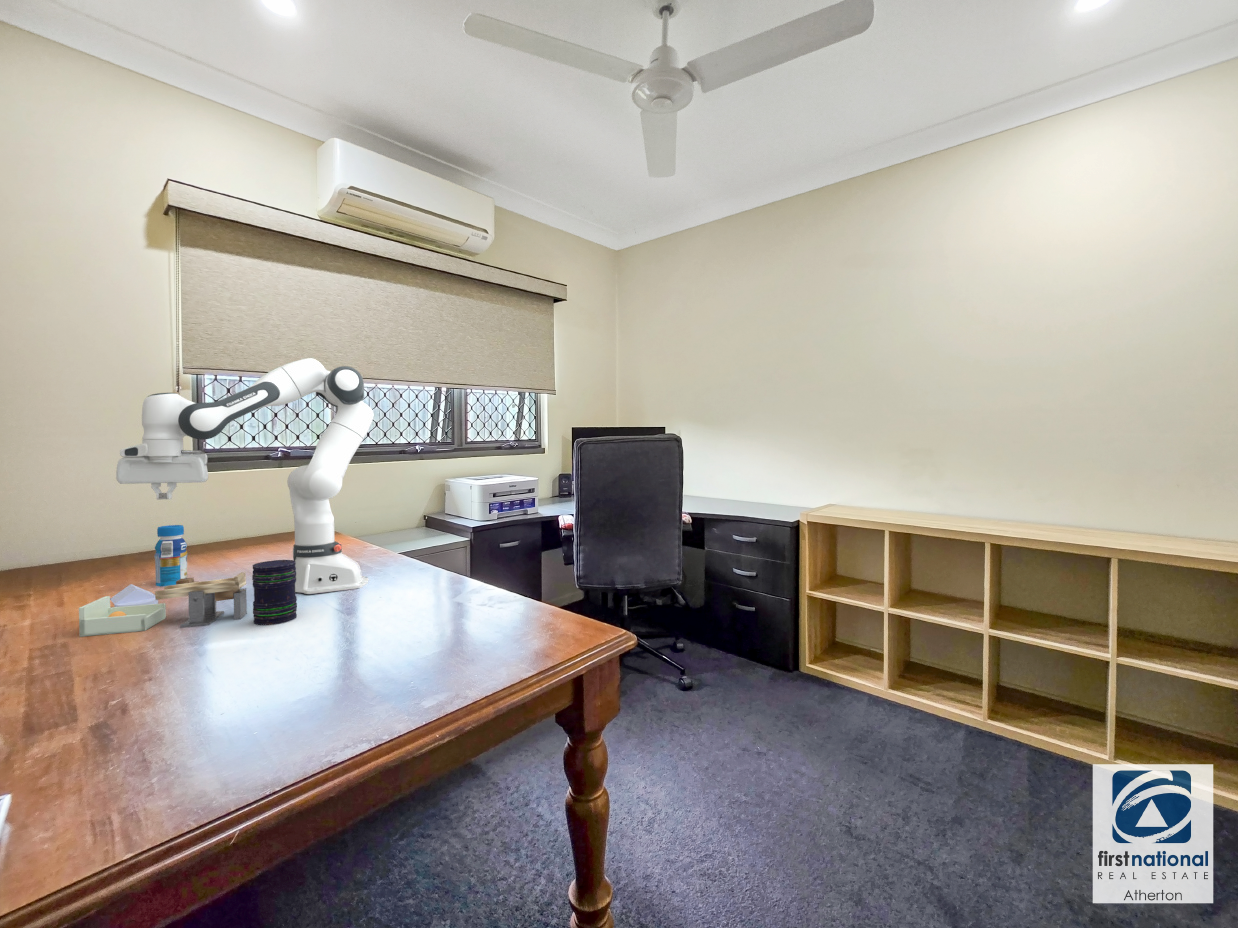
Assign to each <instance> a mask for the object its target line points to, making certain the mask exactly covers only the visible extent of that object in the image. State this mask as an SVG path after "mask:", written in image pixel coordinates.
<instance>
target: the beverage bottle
mask: <svg viewBox="0 0 1238 928" xmlns="http://www.w3.org/2000/svg"><path fill="white" fill-rule="evenodd" d="M184 528H185V527H184V525H183V524H175V525H174V524H172V525H171V524H169V525H162V526H161V525H160V526H158V527H157V528H156V529H157V531H156V532H157V533H156V534H157V537H158V538H159V539H158V540H157V542H156V543H155V545H154V551H155V554H154V555H153V556H154V563H155V567H154V568H155V570H154V571H155V586H156V587H165V586H170V585H176V581H178V580H180V579H185V578H188V550H187V547H188V544H187V542H186V540H185V539H184V538H183V536H184V535H185V533H184V532H185V529H184Z"/></svg>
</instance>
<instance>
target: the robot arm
mask: <svg viewBox="0 0 1238 928" xmlns="http://www.w3.org/2000/svg"><path fill="white" fill-rule="evenodd" d="M313 393H316V394H317V395H318V396H319V397H320V398H322V399H323V400H324V401H325V402H326V403H328V404H329V405H331V406H333V407H336V408H337V412H336V414H335V415H334V417H333V418H332V420H331V422H330V423H329V425H328V426H327V428H326V429H325V431H324V432H323V433H322V435H321V437H320V438H319V440H318V441H317V443H316V448H315V450H314V453H313V456H312V458H311V460H310V461H309V463H308V464H305V465H301V466H298V467H296V468H295V469H294V470H292V471H291V472H290V474H289V475H288V477H287V487H288V490H289V496H290V497H289V498H290V502H291V503H290V504H291V509H292V513H293V520H294V521H293V523H294V544H293V548H292V560H294V561H296V565H295V566H296V583H295V593H300V594H301V593H302V594H305V595H312V594H314V595H315V594H321V593H322V594H323V593H329V592H330V593H331V592H337V591H346V590H355V589H356V590H357V589H360V588H363V586H364V585H365V586H367V585H368V584H369V582H368V581H370V579H369V577H367V576H365V575H364V576H363V575H362V571H361V570H362V569H361V566H360V564H359V563H358V562H357V561H356V560H354V559H352V558H351V557H349V556H347V555H346V554H344V553H342V550H343V548H342V547H343V546H342V545H343V544H342V543H341V542H338V541H336V540H335V517H334V514H333V512H332V508H331V503H330V499H332V498H334V497H336V496H337V495H338V494H339V493H340V492H341V489H342V487H343V480H344V478H345V475H346V472H347V470H348V467H349V465H350V463H351V460H352V458H353V457H354V455H355V454H356V451H357V450H358V448H359V447H360V446H361V444H362V443H363V440H364V439H365V437H366V436H367V434H368V432H369V430H370V428H371V425H372V423H373V419H374V417H375V415H374V411H373V409H372V408H371V407H370V406H369V405H368V404H367V403H365V402H363V400H364V398H365V383H364V378H363V376H362V374H361V373H360V371H358V370H357V369H356V368H354V367H351V366H346V365H345V366H344V365H342V366H338V367H335V368H334V369H332V370H331V371H330V370H328V369H326V367H325V366H324V365H323V364H322V363H321V362H320V361H319V360H317V359H315V358H313V357H307V358H302V359H298V360H294V361H292V362H291V361H290V362H288V363H286V364H283V365H281V366H278V367H276V368H275V369H272V370H270V371H269V372H266V373H265V374H264V375H262V376H261V377H259V378H258V379H257V380H256V381H255V382H254V383H253V384H252V385H250V386H249V387H247V388H245V389H244V390H240V391H239V392H236V393H233V394H232V395H229V396H227V397H223V398H222V399H219V400H216V401H212V402H194V401H192V400H189V399H187V398H185V397H183V396H181V395H180V394H179V393H176V392H159V393H153V394H150V395H148V396H146V398H144V400H143V403H142V409H141V426H142V428H143V435H142V439H141V440H142V441H141V443H140V444H137V445H132V446H130V447H129V446H128V447H124V448H121V449H120V450H119V456H120V457H121V458H120V459H118V461H117V464H116V473H115V474H116V475H115V479H116V481H117V482H118V483H119V484H123V485H125V484H127V485H128V484H129V485H130V484H131V485H132V484H135V485H136V484H150V487H151V489H152V491H154V493H155V494H156V500H172V498H173V494H172V493H173V492H174V491H175V489H176V488H177V487H178V486H177V484H179V483H180V484H181V483H183V484H185V483H186V484H187V483H189V484H190V483H205V482H207V481H208V480H209V470H208V466H207V464H208V459H209V456H208V455H207V453H206V452H204V451H202V450H200V449H198V450H189V449H188V450H186V449H185V450H184V437H190V438H191V439H195V440H204V441H205V440H209V439H213V438H216V437H217V436H218V435H219V434H220V433H221V432H222V431H223V430H224V429H225V428H226V427H227V425H229V424H230V423H231V422H232V421H233V422H234V421H235V420H236V419H238V418H241V417H243V416H246V415H248V414H250V413H252V412H255V411H256V410H259V409H261V408H266V407H279V406H283V405H284V406H285V405H286V404H290V403H292V402H296V401H297V400H300V399H302V398H304V397H305V396H308V395H311V394H313ZM162 484H166V485H167V486H166V487H167V488H168V490H167V491H166V492H163V491H161V489H160V488H161V487H162ZM365 577H367V578H365ZM366 584H367V585H366ZM365 586H364V587H365Z"/></svg>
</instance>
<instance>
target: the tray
mask: <svg viewBox="0 0 1238 928" xmlns="http://www.w3.org/2000/svg"><path fill="white" fill-rule="evenodd" d="M110 598H111V595H107V596H106V595H105V596H103V597H100V598H98V599H96V600H94V601H91V602H89V603H86V604H85V605H83V606H82V605H81V606H80V607H78V621H79V623H78V624H79V627H78V629H79V630H78V632H79V638H81V637H92V636H102V635H103V636H104V635H111V634H112V635H114V634H116V635H117V634H125V633H137V632H145V631H148V630H149V629H150V628H152V627H154V626H155V625H157V624H158V623H160V622H162V621H163V620H165V619H166V618H167V614H166V612H167V611H166V609H167V607H166V602H163V603H158V604H148V605H135V606H123V607H114V606H112V607H111V600H110ZM116 611H122V612H124V613H125V614H126V615H127V616H115V617H108V616H109V615H110V614H111V613H113V612H116Z"/></svg>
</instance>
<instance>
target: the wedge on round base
mask: <svg viewBox="0 0 1238 928" xmlns="http://www.w3.org/2000/svg"><path fill="white" fill-rule="evenodd" d="M110 602H112V603H113V607H123V606H135V605H148V604H159V600H156V599H155V593H153V592H152V591H148V590H147V589H144V588H141V587H139V586H136V585H135V584H132V583H131V584H128V585H127V586H126V587H124V588H123V589H122V590H120V591H119V592H118V593H116V594H115V595H113V596H112V597H110Z"/></svg>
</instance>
